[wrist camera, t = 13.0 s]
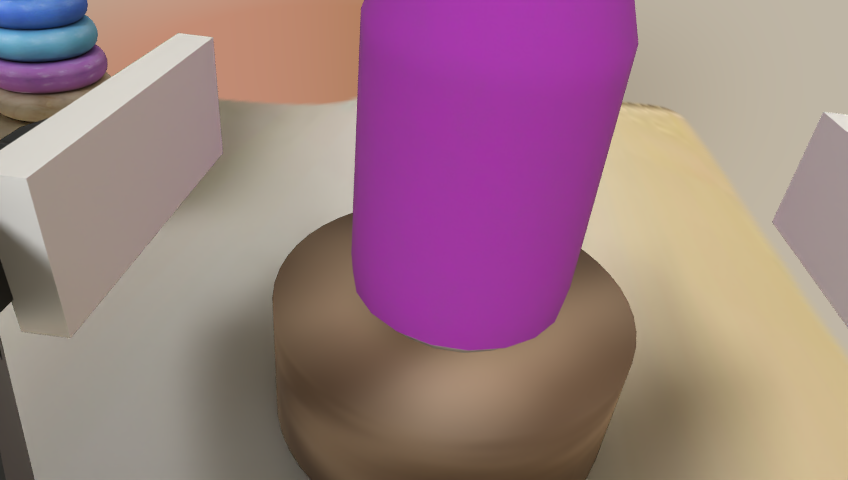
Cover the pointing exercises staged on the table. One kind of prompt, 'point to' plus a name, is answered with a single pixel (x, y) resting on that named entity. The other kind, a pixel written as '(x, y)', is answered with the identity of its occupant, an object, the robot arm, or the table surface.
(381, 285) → the beverage can
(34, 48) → the stacking toy
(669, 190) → the table surface
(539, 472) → the walnut pedestal
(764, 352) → the table surface
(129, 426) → the table surface
